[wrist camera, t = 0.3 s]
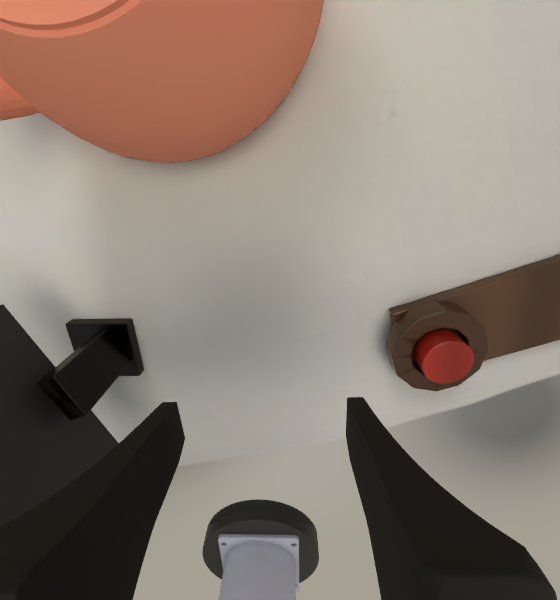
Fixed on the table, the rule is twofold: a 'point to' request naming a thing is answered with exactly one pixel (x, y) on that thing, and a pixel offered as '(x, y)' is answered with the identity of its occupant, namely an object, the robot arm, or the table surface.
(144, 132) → the teapot
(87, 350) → the monitor stand
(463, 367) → the power button
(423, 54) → the table surface
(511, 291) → the brown board with ring
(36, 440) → the panel
